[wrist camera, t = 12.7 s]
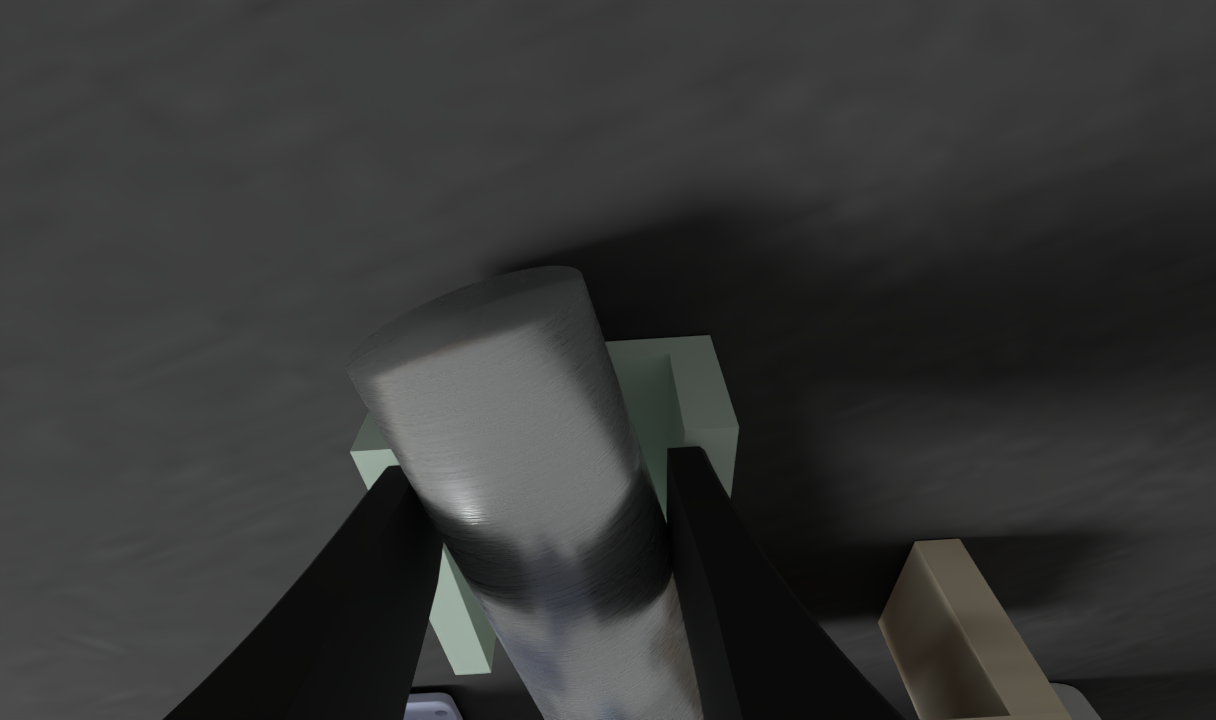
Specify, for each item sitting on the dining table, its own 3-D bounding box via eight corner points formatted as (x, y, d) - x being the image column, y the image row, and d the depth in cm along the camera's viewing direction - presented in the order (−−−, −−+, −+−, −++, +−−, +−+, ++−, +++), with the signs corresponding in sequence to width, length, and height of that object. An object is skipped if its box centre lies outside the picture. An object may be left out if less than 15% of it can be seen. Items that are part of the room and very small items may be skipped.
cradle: (694, 564, 18) (711, 659, 16) (472, 578, 18) (455, 675, 16) (709, 335, 13) (738, 427, 10) (393, 355, 13) (350, 451, 10)
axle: (728, 660, 15) (748, 834, 12) (591, 676, 16) (570, 843, 13) (595, 248, 11) (560, 336, 7) (408, 301, 11) (293, 403, 8)
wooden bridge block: (915, 620, 21) (1008, 811, 16) (700, 633, 21) (733, 827, 16) (959, 538, 18) (1088, 745, 13) (707, 554, 18) (749, 765, 13)
